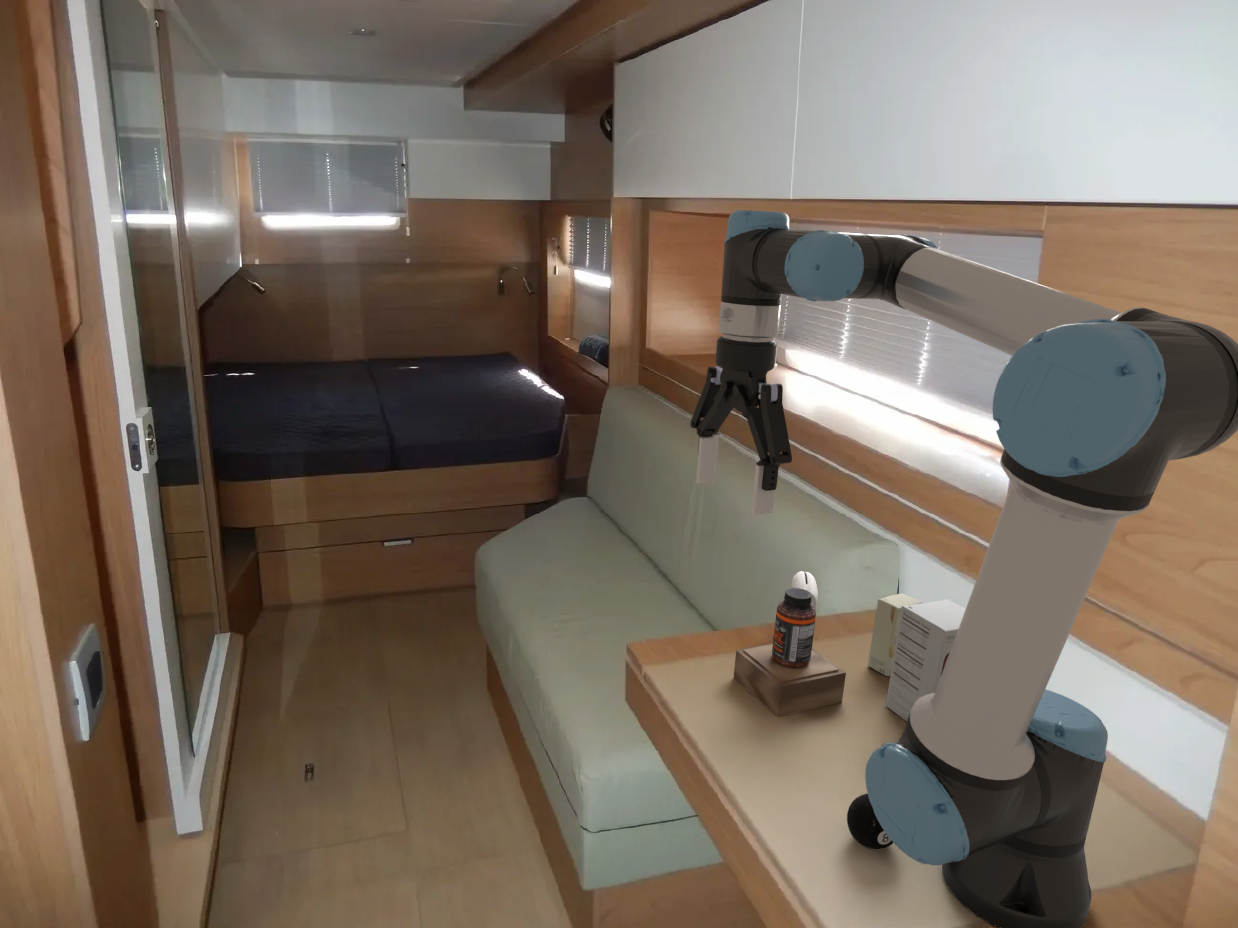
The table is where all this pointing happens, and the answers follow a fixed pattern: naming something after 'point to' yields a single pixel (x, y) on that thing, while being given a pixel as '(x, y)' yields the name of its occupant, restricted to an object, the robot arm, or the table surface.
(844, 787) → the table surface
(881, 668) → the skincare box
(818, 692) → the wooden box
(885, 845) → the billiard ball
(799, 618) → the supplement bottle
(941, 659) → the supplement box
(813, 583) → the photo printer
